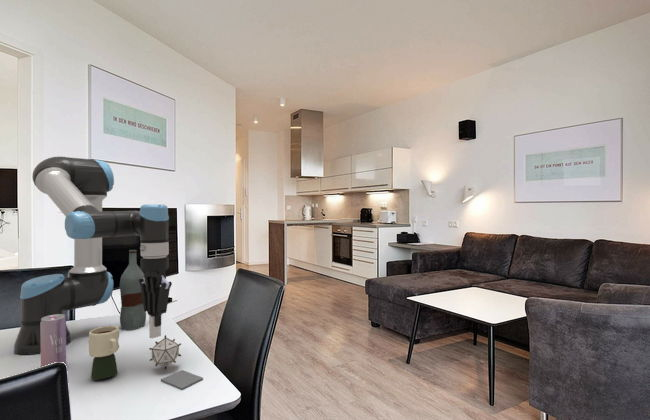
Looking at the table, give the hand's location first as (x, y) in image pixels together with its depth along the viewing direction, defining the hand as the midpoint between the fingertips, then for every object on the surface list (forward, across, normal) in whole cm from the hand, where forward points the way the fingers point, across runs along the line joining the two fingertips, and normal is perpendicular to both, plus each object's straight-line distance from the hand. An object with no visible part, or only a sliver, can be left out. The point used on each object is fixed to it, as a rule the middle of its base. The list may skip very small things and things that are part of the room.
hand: (155, 336), depth 107 cm
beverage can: (+9, -23, -17) cm, 30 cm away
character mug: (+9, -5, -12) cm, 16 cm away
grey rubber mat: (+9, +15, -2) cm, 17 cm away
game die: (+9, +5, 0) cm, 10 cm away
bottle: (+9, -40, +16) cm, 44 cm away
